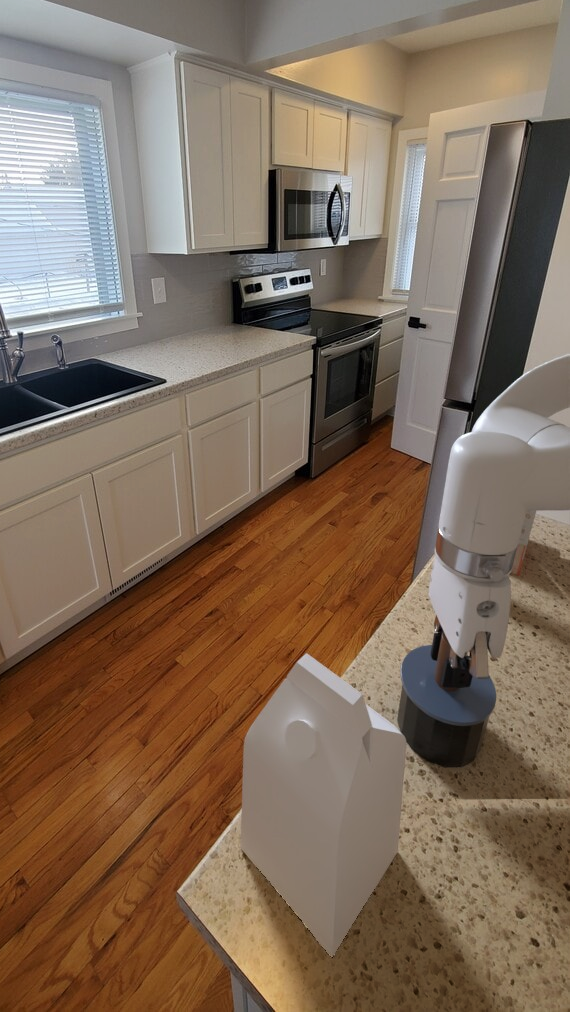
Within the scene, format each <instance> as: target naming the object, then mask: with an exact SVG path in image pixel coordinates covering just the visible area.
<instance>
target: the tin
mask: <svg viewBox="0 0 570 1012" xmlns="http://www.w3.org/2000/svg"><path fill="white" fill-rule="evenodd" d="M489 719H490V716H489V717H488V718H487V719H486V720H484V721H483V722H481V723H478V724H475V725H470V726H457V725H451V724H447V723H444V722H441V721H439V720H437V719H435V718H433V717H431V716H429V715H428V714H426V713H425V712H423V711H422V710H421V709H419V708H418V707H417V706H416V705H415V704H414V703H413V702H412V700H411V699H410V698H409V696H408V695H407V693H406V691H405V690H404V687H403V685H402V684H401V691H400V699H399V706H398V712H397V718H396V720H397V724H398V728H399V731H400V732H401V733H402V734H403V735H404V736H405V739H406V745H408V746H409V748H410V749H411V751H413V752H414V753H415V754H416V755H418V756H419V757H421V758H422V759H423V760H424V761H426V762H428V763H430V764H433V765H436V766H438V767H441V768H445V769H446V768H448V769H449V768H451V769H452V768H456V769H458V768H459V769H460V768H463V767H465V766H467V765H470V763H473V762H474V761H475V760H476V758H477V757H478V755H479V753H480V752H481V750H482V746H483V742H484V738H485V735H486V731H487V727H488V724H489Z"/></svg>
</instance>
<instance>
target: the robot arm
mask: <svg viewBox="0 0 570 1012" xmlns="http://www.w3.org/2000/svg"><path fill="white" fill-rule="evenodd" d="M566 409H570V352H569V353H566V354H564V355H562V356H559V357H555V358H554V359H551V360H548V361H547V362H544V363H541V364H539V365H537V366H536V367H534V368H532V369H530V370H528V371H527V372H525V373H524V374H522V375H521V376H520V377H519V378H517V379H516V380H514V382H512V383H511V384H510V385H509V386H508V387H507V388H506V389H505V390H504V391H503V392H502V393H500V394H499V395H498V396H497V397H496V398H495V399H493V401H492V402H491V403H490V404H489V405H488V406H487V407H486V408H485V410H483V412H481V414H480V415H479V417H478V418H477V420H476V421H475V423H474V425H473V427H472V429H471V431H470V432H466V433H465V434H462V435H460V436H459V437H458V438H457V439H456V440H455V441H454V443H453V444H452V446H451V448H450V453H449V459H448V465H447V470H446V476H445V477H446V478H445V483H444V489H443V496H442V502H441V507H440V514H439V521H438V526H437V533H436V540H435V546H434V559H433V564H432V569H431V573H430V579H429V587H428V597H429V600H430V603H431V607H432V608H433V611H434V613H435V618H434V622H433V628H434V631H435V632H434V633H433V636H432V637H433V638H432V644H431V645H432V648H431V654H430V655H431V658H432V659H433V660H434V661H437V658H438V653H439V647H440V642H441V637H442V633H443V631H444V633H445V635H446V637H447V639H448V641H449V643H450V645H451V650H450V657H449V659H446V660H445V665H444V670H443V675H442V680H441V683H442V685H443V687H445V688H464V687H470V685H471V681H472V677H474V678H475V679H488V678H489V676H490V673H489V672H490V671H489V654H490V656H491V658H492V659H499V658H501V657H502V655H503V652H504V648H505V642H506V638H507V633H508V627H509V621H510V613H511V604H512V603H511V601H512V582H511V579H510V575H511V574H512V573H511V571H512V566H513V563H514V559H515V555H516V551H517V547H518V542H519V538H520V534H521V530H522V526H523V522H524V518H525V515H526V513H527V512H529V511H536V512H538V511H570V427H569V426H567V425H565V424H564V423H561V422H558V421H556V420H553V419H551V418H550V417H552V416H554V415H555V414H557V413H559V412H561V411H563V410H566ZM465 652H467V654H469V655H468V656H465ZM488 652H489V654H488Z"/></svg>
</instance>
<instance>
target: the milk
mask: <svg viewBox="0 0 570 1012" xmlns="http://www.w3.org/2000/svg"><path fill="white" fill-rule="evenodd" d="M406 753H407V742H406V739H405V736H404V735H403V734H402V733H401V732H400V729H398V727H396V726H395V724H394V723H392V722H391V721H389V720H388V719H387V718H385V717H384V716H382V715H381V714H380V713H378V712H377V711H376V710H375V709H373V708H372V707H370V706H369V705H368V704H366V701H365V698H364V695H363V693H362V692H360V691H359V690H357V688H355V687H354V686H352V685H351V684H349V683H348V682H347V681H346V680H344V679H342V678H341V677H340V676H339V675H337V674H336V673H334V672H333V671H332V670H330V669H329V668H328V667H326V666H325V665H323V664H322V663H321V662H319V660H317V659H315V658H314V657H313V656H311V655H310V654H308V653H307V652H306V653H305V654H304V655H303V656H301V657H300V658H299V659H298V660H297V661H296V662H295V664H294V665H293V667H292V668H291V669H290V671H289V672H288V674H287V675H286V678H284V679H283V681H282V682H281V683H280V685H279V686H278V687H277V689H276V690H275V692H274V693H273V694H272V696H271V697H270V699H268V701H267V703H266V704H265V706H264V707H263V708H262V709H261V711H260V713H258V715H257V716H256V718H255V719H254V721H253V723H252V724H251V725H250V727H249V729H248V731H247V732H246V735H245V737H244V741H243V755H242V757H243V758H242V787H241V815H240V818H241V819H240V846H239V847H240V849H241V851H242V852H243V853H244V854H245V855H246V857H247V858H248V859H249V860H250V862H251V863H252V864H253V865H254V867H255V868H256V867H257V868H258V869H259V870H258V869H257V868H256V869H257V870H258V872H260V871H261V872H260V874H261V873H262V874H263V875H264V876H265V877H266V878H267V879H268V880H269V881H270V882H271V884H272V885H273V886H274V887H275V888H276V889H277V890H278V892H279V893H280V894H281V896H283V898H284V899H285V901H287V903H288V904H289V905H290V906H291V908H292V909H293V910H294V911H295V912H296V913H297V914H298V916H299V917H300V918H301V920H302V921H303V923H305V925H306V926H307V927H308V929H309V930H310V931H311V933H312V934H313V936H314V937H315V938H316V939H315V938H314V937H313V936H312V937H313V938H314V939H315V941H316V942H317V941H318V942H319V943H318V942H317V943H318V944H319V945H320V944H321V945H320V947H321V946H322V947H323V948H324V949H325V950H326V951H325V950H324V949H323V948H322V947H321V948H322V949H323V950H324V951H325V953H326V952H328V954H330V956H331V957H333V955H334V954H335V952H336V951H337V952H338V950H339V949H338V947H339V946H340V944H341V943H342V944H343V942H344V941H343V939H344V938H345V939H346V937H347V936H348V934H349V932H350V931H349V929H350V928H351V926H352V924H353V923H354V921H355V920H356V921H357V919H358V918H357V916H358V914H359V913H360V911H361V909H362V908H363V906H364V905H365V903H366V902H367V903H368V901H369V900H368V898H369V897H370V898H371V896H372V895H373V893H374V892H375V890H376V888H377V887H378V885H379V883H380V882H381V880H382V879H383V877H384V875H385V874H386V872H387V871H388V869H389V867H390V865H391V864H392V862H393V860H394V859H395V857H396V855H397V854H398V852H399V842H400V841H399V840H400V831H401V830H400V828H401V818H402V817H401V816H402V815H401V814H402V804H403V793H404V792H403V791H404V779H405V768H406V767H405V766H406V755H407V754H406ZM262 874H261V875H262ZM263 875H262V876H263ZM264 876H263V877H264ZM265 877H264V878H265ZM266 878H265V879H266ZM376 886H377V887H376ZM374 889H375V890H374ZM372 892H373V893H372ZM371 894H372V895H371ZM370 895H371V896H370ZM370 898H369V899H370ZM367 900H368V901H367ZM367 903H366V904H367ZM365 906H366V905H365ZM365 906H364V907H365ZM363 909H364V908H363ZM363 909H362V910H363ZM361 912H362V911H361ZM360 914H361V913H360ZM360 914H359V915H360ZM358 917H359V916H358ZM356 918H357V919H356ZM356 921H355V922H356ZM303 923H302V924H303ZM354 924H355V923H354ZM354 924H353V925H354ZM352 927H353V926H352ZM351 929H352V928H351ZM351 929H350V930H351ZM348 931H349V932H348ZM311 933H310V934H311ZM347 933H348V934H347ZM312 934H311V935H312ZM346 935H347V936H346ZM345 936H346V937H345ZM345 939H344V940H345ZM342 941H343V942H342ZM342 944H341V945H342ZM340 947H341V946H340ZM340 947H339V948H340ZM337 949H338V950H337ZM337 952H336V953H337ZM328 954H327V955H328ZM335 955H336V954H335ZM335 955H334V956H335ZM330 956H329V957H330ZM331 957H330V958H331ZM333 958H334V957H333Z"/></svg>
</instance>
